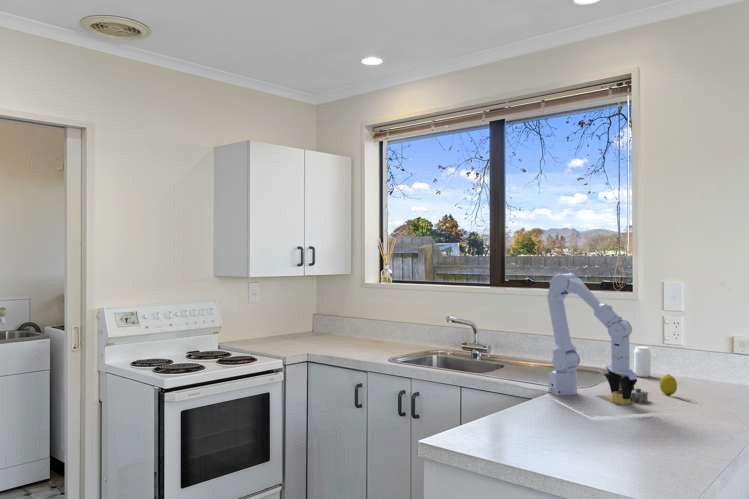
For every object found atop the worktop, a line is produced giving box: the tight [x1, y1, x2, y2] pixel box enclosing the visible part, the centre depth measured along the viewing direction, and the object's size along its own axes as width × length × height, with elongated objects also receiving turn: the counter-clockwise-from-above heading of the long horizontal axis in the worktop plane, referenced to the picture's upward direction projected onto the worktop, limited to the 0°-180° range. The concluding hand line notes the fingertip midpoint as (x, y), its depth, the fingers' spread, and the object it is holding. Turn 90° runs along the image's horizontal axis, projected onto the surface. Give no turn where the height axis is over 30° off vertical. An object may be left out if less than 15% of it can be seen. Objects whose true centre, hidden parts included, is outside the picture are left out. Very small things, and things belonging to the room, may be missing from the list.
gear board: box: [596, 386, 653, 406], centre depth 206 cm, size 14×13×5 cm
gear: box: [611, 391, 630, 405], centre depth 203 cm, size 5×5×3 cm
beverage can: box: [633, 345, 652, 378], centre depth 247 cm, size 6×6×12 cm
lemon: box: [659, 373, 678, 397], centre depth 213 cm, size 6×6×8 cm
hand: (620, 396), depth 203 cm, fingers open, 6 cm apart
